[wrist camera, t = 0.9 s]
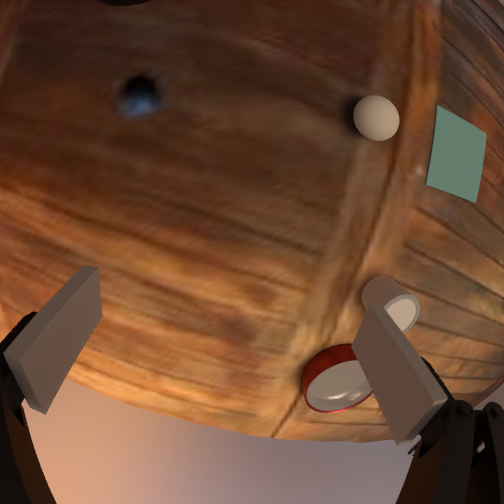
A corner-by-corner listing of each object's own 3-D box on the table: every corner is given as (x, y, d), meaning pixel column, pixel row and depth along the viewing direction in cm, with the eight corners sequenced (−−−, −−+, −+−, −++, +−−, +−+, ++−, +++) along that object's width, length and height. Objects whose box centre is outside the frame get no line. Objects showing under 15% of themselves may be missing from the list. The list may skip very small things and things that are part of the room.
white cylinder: (364, 270, 37) (385, 294, 31) (402, 272, 38) (427, 294, 31) (352, 312, 40) (369, 340, 33) (389, 312, 40) (409, 337, 34)
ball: (349, 93, 29) (368, 85, 24) (387, 106, 30) (410, 101, 24) (343, 134, 31) (361, 133, 26) (381, 145, 31) (404, 146, 26)
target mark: (436, 105, 29) (437, 105, 29) (485, 133, 30) (486, 133, 30) (425, 184, 33) (426, 184, 33) (474, 202, 35) (475, 203, 34)
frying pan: (436, 372, 48) (449, 390, 42) (397, 411, 51) (407, 430, 46) (330, 332, 41) (343, 359, 35) (285, 386, 45) (290, 414, 39)
